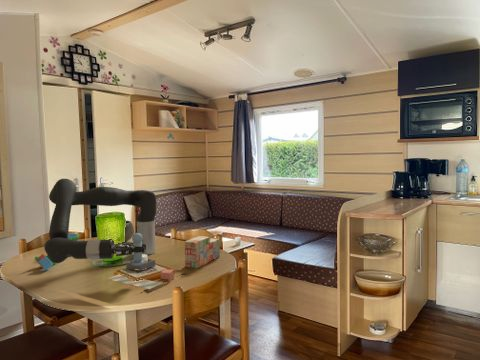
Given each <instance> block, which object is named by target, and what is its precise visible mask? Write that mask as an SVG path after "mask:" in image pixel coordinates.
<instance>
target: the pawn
mask: <svg viewBox="0 0 480 360" xmlns="http://www.w3.org/2000/svg"><path fill="white" fill-rule="evenodd" d="M142 239H143V237H142V235H141V234H140V233H137V232H136V233H135V232H134V235H133V237H132V238H131V240H132V243H133V247H134V248H135V247H141V246H142ZM133 260H134V261H132V260H131V261H132V265H135V266H138V265H143V264H144V261H143V260H142V252H139V253H135V252H134V253H133Z"/></svg>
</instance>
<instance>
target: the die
mask: <svg viewBox="0 0 480 360" xmlns="http://www.w3.org/2000/svg"><path fill="white" fill-rule="evenodd" d="M160 279H161V280H165V281H163V283H171V282H172V281H174V279H175V269H167V268H166V269H163V270H162V271H160Z"/></svg>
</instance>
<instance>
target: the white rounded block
mask: <svg viewBox="0 0 480 360" xmlns="http://www.w3.org/2000/svg"><path fill="white" fill-rule="evenodd" d="M148 255H149V254H148ZM148 255H146V254H142V260H143V261H144V263H146V262H148V259H149V258H148Z"/></svg>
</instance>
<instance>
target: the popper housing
mask: <svg viewBox="0 0 480 360" xmlns="http://www.w3.org/2000/svg"><path fill="white" fill-rule="evenodd" d="M132 261H134V259H132V260H129V261H126V263H125V266H126V267H125V269H127V270H131V269H139V270H142V269H145V268H149V267H152V266H155V267H156V259H152V258H148V262H146V263H144V264H143V265H138V266H135V265H132ZM152 268H153V267H152ZM149 269H150V268H149Z"/></svg>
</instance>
